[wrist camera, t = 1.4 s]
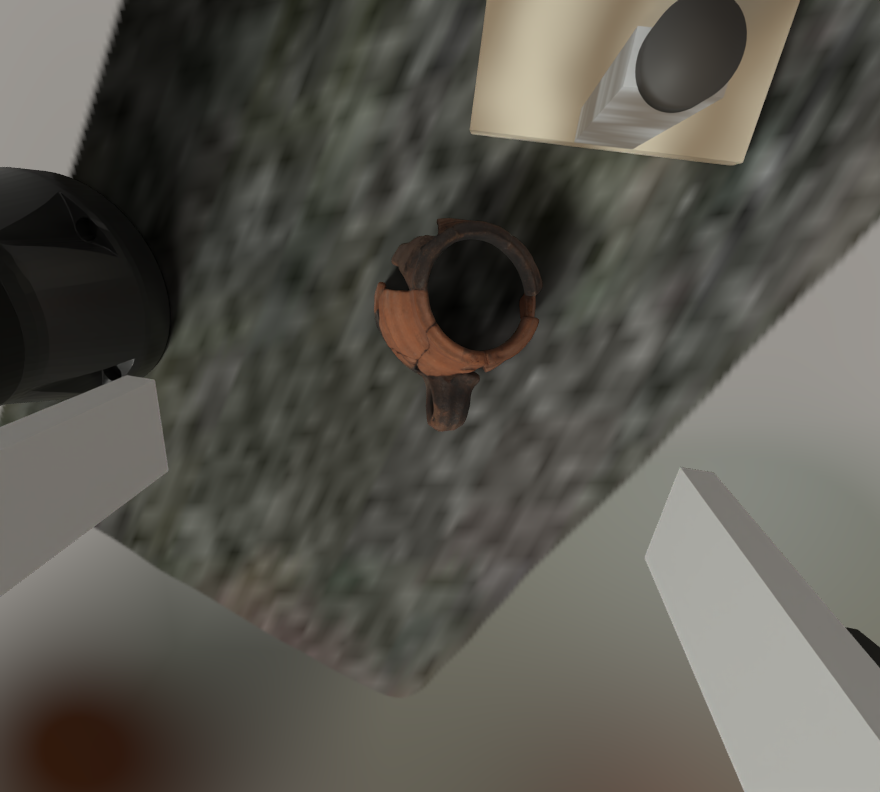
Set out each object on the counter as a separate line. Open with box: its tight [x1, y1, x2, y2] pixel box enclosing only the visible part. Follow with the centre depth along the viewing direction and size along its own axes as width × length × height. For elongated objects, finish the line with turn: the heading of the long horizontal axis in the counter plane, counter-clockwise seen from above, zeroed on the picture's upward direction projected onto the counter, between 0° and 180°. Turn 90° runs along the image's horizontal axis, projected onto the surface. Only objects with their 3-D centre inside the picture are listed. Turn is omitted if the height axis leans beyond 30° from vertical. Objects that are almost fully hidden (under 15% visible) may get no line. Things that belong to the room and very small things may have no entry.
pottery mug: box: [374, 218, 543, 431], centre depth 26 cm, size 12×10×8 cm
